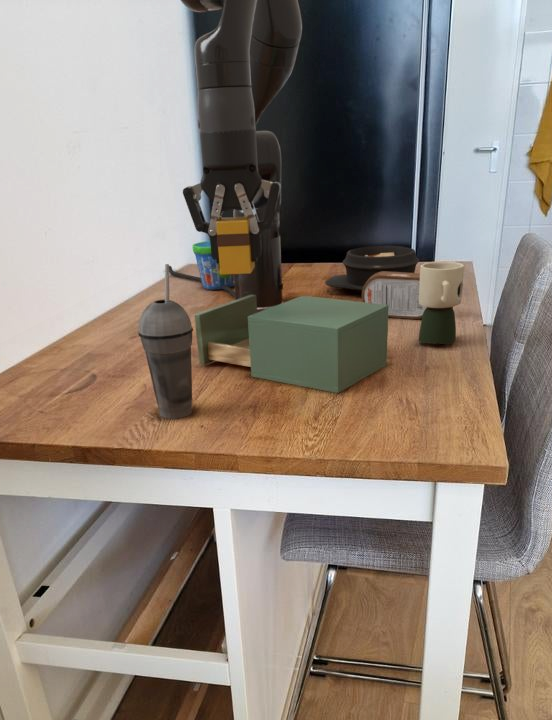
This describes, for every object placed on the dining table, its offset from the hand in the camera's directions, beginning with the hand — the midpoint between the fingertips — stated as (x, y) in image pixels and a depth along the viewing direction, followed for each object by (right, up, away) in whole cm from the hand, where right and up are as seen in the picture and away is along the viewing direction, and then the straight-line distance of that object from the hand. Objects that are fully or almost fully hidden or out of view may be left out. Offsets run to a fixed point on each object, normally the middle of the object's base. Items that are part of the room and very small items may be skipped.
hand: (237, 261), depth 102 cm
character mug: (+34, -7, +20) cm, 40 cm away
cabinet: (+13, -14, +10) cm, 21 cm away
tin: (+30, +2, +37) cm, 47 cm away
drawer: (+3, -10, +16) cm, 20 cm away
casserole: (+30, +14, +58) cm, 67 cm away
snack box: (0, -1, +1) cm, 1 cm away
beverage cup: (-8, -23, -3) cm, 24 cm away
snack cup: (-8, +18, +69) cm, 72 cm away
